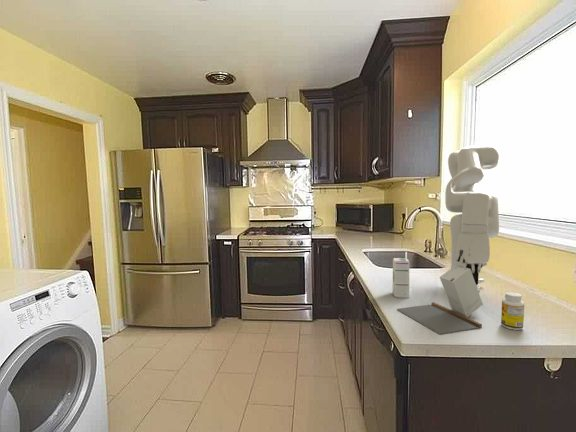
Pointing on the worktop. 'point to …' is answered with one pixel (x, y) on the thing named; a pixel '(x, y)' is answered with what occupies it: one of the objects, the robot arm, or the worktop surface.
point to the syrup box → (401, 277)
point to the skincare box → (461, 290)
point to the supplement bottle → (512, 311)
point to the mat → (436, 319)
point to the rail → (457, 315)
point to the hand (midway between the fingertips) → (472, 283)
